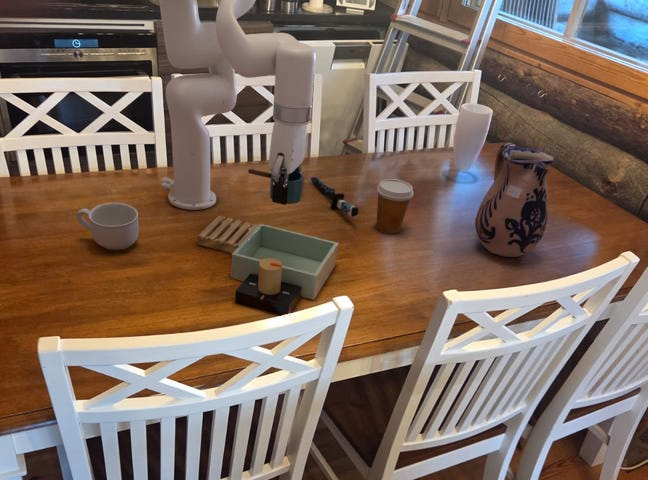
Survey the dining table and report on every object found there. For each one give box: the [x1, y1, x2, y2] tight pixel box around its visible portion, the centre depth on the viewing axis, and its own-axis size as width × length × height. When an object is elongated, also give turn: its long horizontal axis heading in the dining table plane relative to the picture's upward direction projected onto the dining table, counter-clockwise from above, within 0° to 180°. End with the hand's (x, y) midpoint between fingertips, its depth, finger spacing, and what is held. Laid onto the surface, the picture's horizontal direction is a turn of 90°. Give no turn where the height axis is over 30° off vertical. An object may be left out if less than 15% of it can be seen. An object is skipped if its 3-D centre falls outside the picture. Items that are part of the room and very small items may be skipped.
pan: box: [247, 168, 305, 205], centre depth 135 cm, size 12×7×5 cm, turn 72°
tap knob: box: [258, 258, 282, 295], centre depth 132 cm, size 5×5×6 cm
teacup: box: [76, 202, 140, 251], centre depth 145 cm, size 14×11×8 cm
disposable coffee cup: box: [376, 178, 415, 234], centre depth 165 cm, size 10×10×12 cm
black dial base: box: [234, 273, 302, 316], centre depth 134 cm, size 12×9×3 cm
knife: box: [310, 176, 359, 218], centre depth 176 cm, size 31×3×4 cm, turn 20°
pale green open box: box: [230, 223, 339, 300], centre depth 144 cm, size 20×17×6 cm
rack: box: [197, 215, 259, 254], centre depth 153 cm, size 12×12×3 cm
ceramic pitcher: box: [474, 142, 555, 258], centre depth 159 cm, size 18×21×25 cm
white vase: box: [452, 102, 494, 172], centre depth 196 cm, size 10×10×22 cm
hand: (285, 195), depth 136 cm, fingers closed on pan, 6 cm apart
